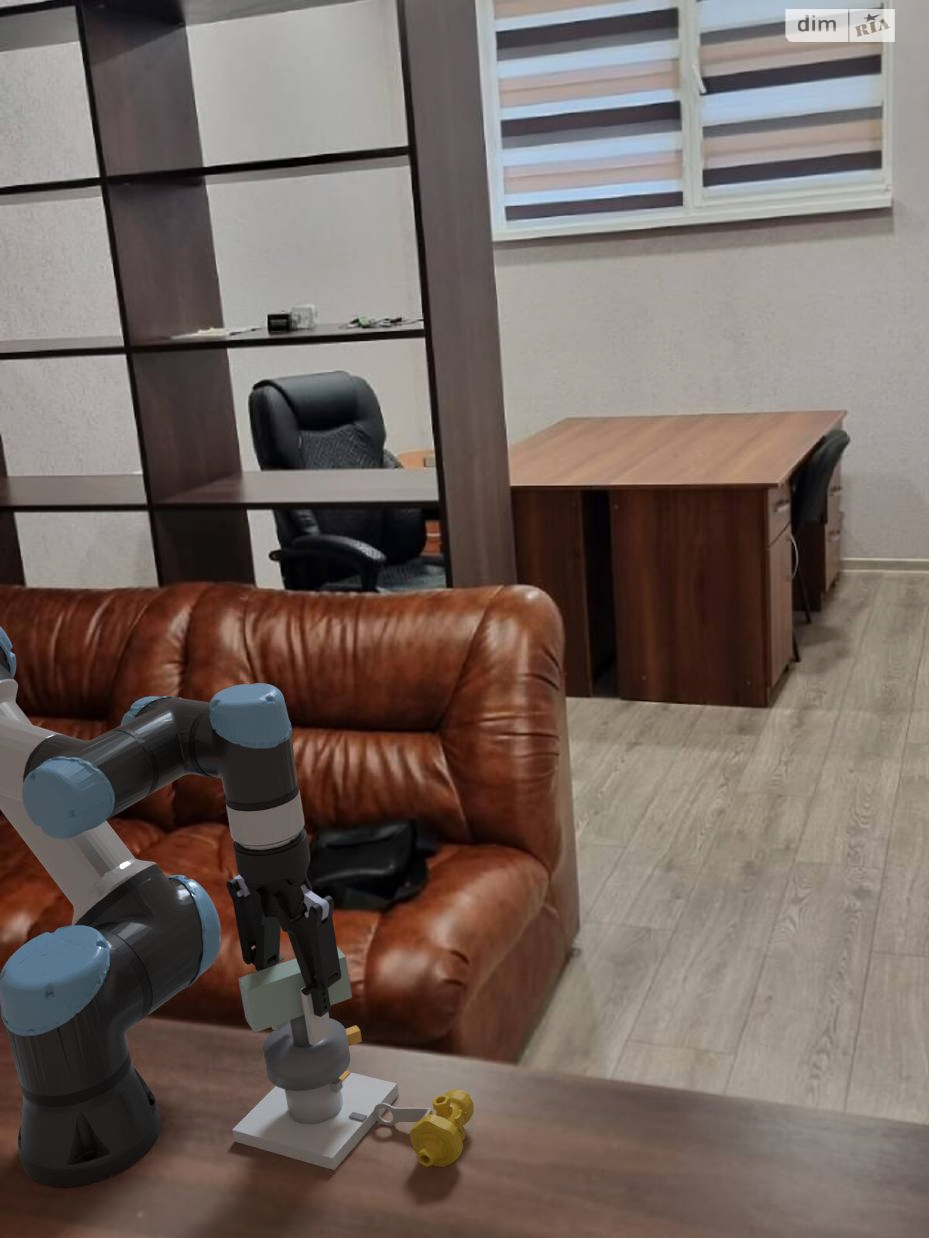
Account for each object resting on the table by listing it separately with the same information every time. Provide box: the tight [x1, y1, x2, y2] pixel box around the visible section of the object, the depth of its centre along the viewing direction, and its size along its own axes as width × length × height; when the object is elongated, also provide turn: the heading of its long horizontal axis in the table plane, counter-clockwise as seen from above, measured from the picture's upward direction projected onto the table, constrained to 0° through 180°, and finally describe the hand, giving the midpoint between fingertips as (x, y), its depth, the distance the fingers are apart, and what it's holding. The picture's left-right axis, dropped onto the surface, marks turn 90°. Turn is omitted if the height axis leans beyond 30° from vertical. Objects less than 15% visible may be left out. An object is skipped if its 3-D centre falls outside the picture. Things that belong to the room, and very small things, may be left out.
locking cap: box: [238, 946, 363, 1091], centre depth 145 cm, size 12×9×12 cm
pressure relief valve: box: [374, 1089, 475, 1168], centre depth 142 cm, size 6×12×10 cm
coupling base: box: [232, 1069, 400, 1171], centre depth 148 cm, size 13×13×6 cm
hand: (301, 1030), depth 146 cm, fingers closed on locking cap, 5 cm apart
